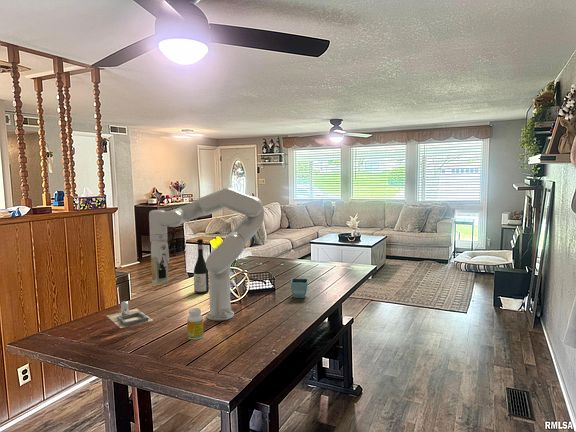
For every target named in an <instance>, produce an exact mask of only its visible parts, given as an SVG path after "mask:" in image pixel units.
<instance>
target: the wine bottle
mask: <svg viewBox="0 0 576 432" xmlns="http://www.w3.org/2000/svg"><path fill="white" fill-rule="evenodd" d="M203 240H204V239H202V238H200V239H197V240H196V241H197V260H196V263H195V265H194V268H193V285H194V287H193V291H194V293H195V294H197V295H204V294H207V293H209V271H208V270H207V268H206V261H205V258H204V247H203V246H204V241H203Z"/></svg>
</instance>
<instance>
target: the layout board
mask: <svg viewBox="0 0 576 432" xmlns="http://www.w3.org/2000/svg"><path fill="white" fill-rule="evenodd" d="M106 317H107V318H108V319H109V320H110V321H112V322H113V324H115V325H116V326H118V327H119V328H120V329H123V328H127V327H132V326H136V325H140V324H144V323H148V322H152V321H153V319H152V318H151V317H149V316H148V315H146V314H145V313H144V312H142V311H141V310H140V309H139V308H135V309H129V314H128V315H124V316H122V311H121V312H118V313H117V312H115V313H112V314H109V315H108V314H107V315H106Z"/></svg>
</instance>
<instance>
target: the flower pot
mask: <svg viewBox="0 0 576 432" xmlns="http://www.w3.org/2000/svg"><path fill="white" fill-rule="evenodd" d="M308 282H309V279H308V278H292V279H291V281H290V289H291V294H292V296H293V298H295V299H305V297H306V295H307V291H308Z"/></svg>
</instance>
